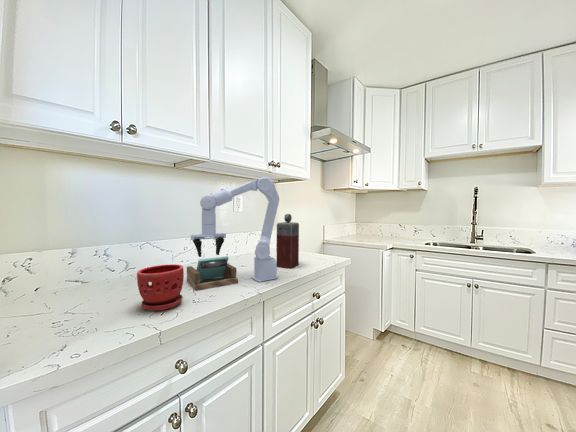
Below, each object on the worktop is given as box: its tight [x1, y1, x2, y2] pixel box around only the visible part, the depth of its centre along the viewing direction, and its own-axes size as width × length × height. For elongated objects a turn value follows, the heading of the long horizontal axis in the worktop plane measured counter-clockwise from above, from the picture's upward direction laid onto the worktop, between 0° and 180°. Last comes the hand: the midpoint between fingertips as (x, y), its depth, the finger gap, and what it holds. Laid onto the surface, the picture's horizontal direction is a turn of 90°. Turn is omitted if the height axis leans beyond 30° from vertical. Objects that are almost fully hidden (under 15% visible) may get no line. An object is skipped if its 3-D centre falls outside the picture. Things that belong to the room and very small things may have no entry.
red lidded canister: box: [276, 213, 300, 270], centre depth 132 cm, size 9×11×28 cm
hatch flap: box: [195, 255, 229, 281], centre depth 102 cm, size 12×12×3 cm
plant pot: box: [136, 263, 185, 312], centre depth 78 cm, size 13×13×12 cm
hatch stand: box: [186, 262, 239, 291], centre depth 103 cm, size 17×15×6 cm
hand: (208, 255), depth 106 cm, fingers open, 7 cm apart
